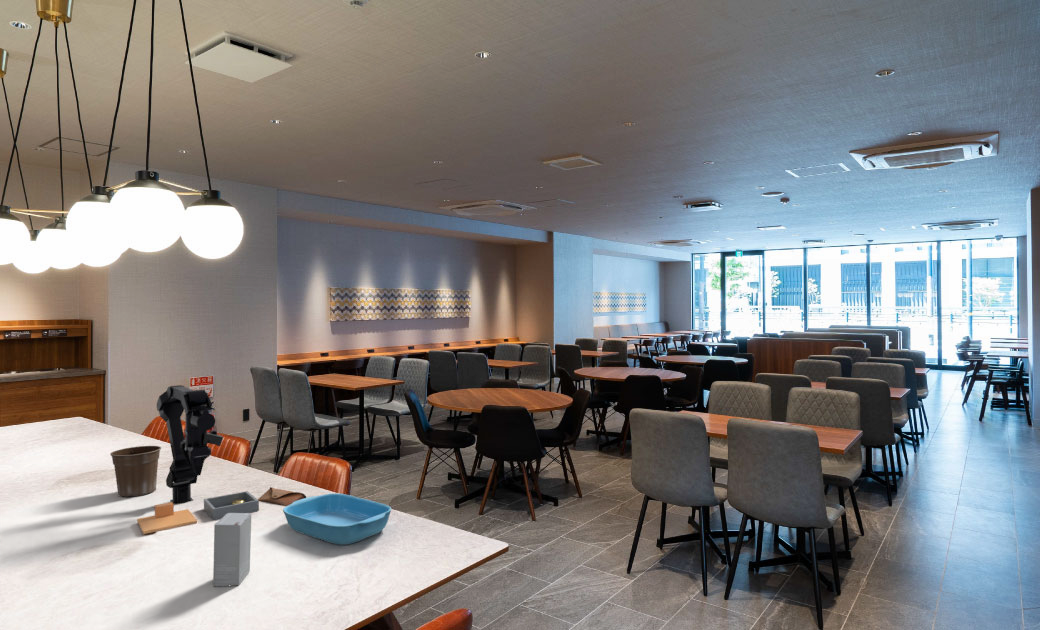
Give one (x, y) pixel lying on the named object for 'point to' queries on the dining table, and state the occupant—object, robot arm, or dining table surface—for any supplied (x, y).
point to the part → (238, 501)
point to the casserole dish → (337, 517)
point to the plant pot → (136, 470)
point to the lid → (165, 519)
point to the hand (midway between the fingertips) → (195, 472)
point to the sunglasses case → (281, 497)
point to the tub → (230, 504)
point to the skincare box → (232, 549)
